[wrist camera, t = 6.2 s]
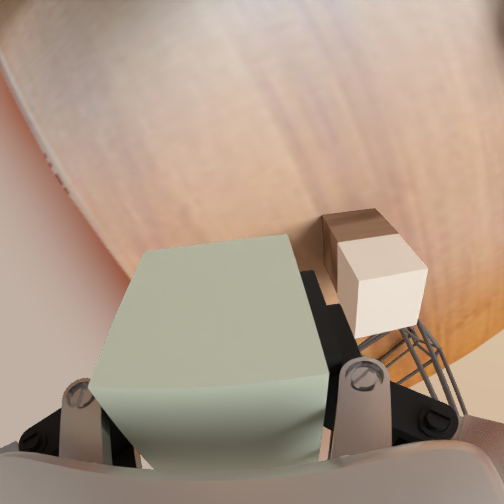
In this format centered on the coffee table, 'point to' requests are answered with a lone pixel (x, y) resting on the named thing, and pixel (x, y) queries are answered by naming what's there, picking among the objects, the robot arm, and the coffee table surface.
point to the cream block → (379, 284)
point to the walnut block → (350, 233)
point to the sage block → (216, 359)
